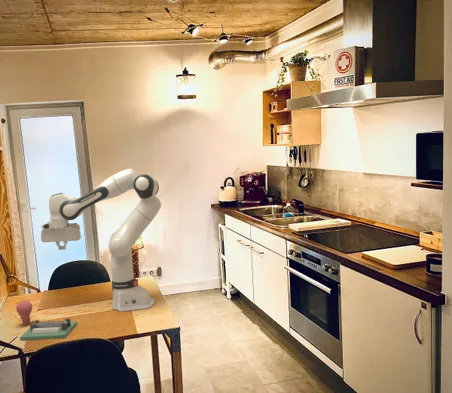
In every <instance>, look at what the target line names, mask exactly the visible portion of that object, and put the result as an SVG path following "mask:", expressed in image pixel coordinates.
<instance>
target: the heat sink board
mask: <svg viewBox="0 0 452 393" xmlns="http://www.w3.org/2000/svg"><path fill="white" fill-rule="evenodd" d="M66 320H68V321H69V323H68V324H67V322H62V323H61V324H62V325H59V326H41V327H35V324H32V323H31V324H30V326H31V327H30V328H28V329H27V331H25V332H24V333H23V334H22V335H21V336H19V340H21V341H38V340H40V341H41V340H55V339H56V340H58V339H66V337H67V336H68V335H69V334H70V333H71V332H72V331H73V330H74V328H75V327H76V326H77V325H78V321H77V320H74V321H71V318H69V317H68V318H64V321H66ZM34 322H40V320H39V319H35V320H34Z"/></svg>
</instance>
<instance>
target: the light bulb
mask: <svg viewBox="0 0 452 393" xmlns="http://www.w3.org/2000/svg"><path fill="white" fill-rule="evenodd" d="M15 309H16V312H17V314H18V315H19V317H20V319H21V321H22V324H23V325H26V326H27V325H29V324H30V323H31V316H30V315H31V313H32V310H33V304H32V303H31V301H29V300H25V299H23V300H21V301H19V302H18V303H17V305H16V308H15Z"/></svg>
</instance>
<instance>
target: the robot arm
mask: <svg viewBox="0 0 452 393" xmlns="http://www.w3.org/2000/svg"><path fill="white" fill-rule="evenodd" d="M138 174H139V173H137V172H136V171H135V169H133V168H126V169H123V170H121V171H119V172H116V173H114V174H112V175H110V176H109V177H107V178H106V179H104V181H102V182H101V183H100V184H99V185H98V186H96V188H94V189H93V190H92V191H90V192H88V193H86V194H84V195H83V196H80V197H72V196H69V195H67V194H66V193H65V192H64V193H63V192H59V193H55V194H51V196H49V200H48V207H49V208H48V210H49V212H50V213H49V214H50V218H49V219H50V221H48V222H47V223H43V224H42V225H41V232H40V239H41V242H42V243H54V242H55V245H56V246H57V248H58V251H60V250H61V251H62V250H63V251H65V250H66V249H67V245H68V242H75V241H76V242H77V241H80V240H81V238H82V234H81V231H80V229H81V226H80V224H78V223H77V222H71V223H70V222H69V221H73V220H75V219H77V218H78V217H80V216H81V215H83V214H84V213H85V212H86V209H88V208H90V207H92V206H93V205H96V204H97V203H99V202H102V201H105V200H110V199H113V198H116V197H119V196H120V195H123V194H125V193H126V192H129V191H131V190H135V192H136V194H137V195H138V197H139V199H140V201H139V202H138V204H137V205H136V206H135V207H134V208H133V210H132V211H131V212H130V213H129V215H128V216H127V217H126V219H125V220H124V221H123V222H122V224H121V225H120V226H119V228H118V229H117V230H116V231H115V232H113V233H112V234H111V236H110V237H109V242H108V250H109V251H110V268H111V277H112V278H111V289H112V303H111V308H112V309H113V310H117V311H118V312H129V311H137V310H138V311H139V310H146V309H150V308H152V307H154V305H155V303H156V301H155V298H153V297H151V295H150V292H149V290H148V289H146V288H145V287H143V286H141V285H140V284H139V278H135V274H134V264H133V250H132V248H133V246H134V245H135V244H136V243H137V241H138V240H139V238H140V237H141V235H142V234H143V232H144V231H145V230H146V229H147V228H148V227H149V226H150V224H151V222H153V220H154V219H155V217H156V216H157V215H158V212H160V209H161V208H162V202H161V201H160V199H159V198H158V197H157V196H156V195H157V194H158V193H159V190H160V186H159V182H158V181H157V180H156V179H155V178H154V177H153V176H151V175H149V174H143V173H142V174H139V175H138ZM60 242H63V245H61V244H60Z"/></svg>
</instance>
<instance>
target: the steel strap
mask: <svg viewBox="0 0 452 393" xmlns="http://www.w3.org/2000/svg"><path fill="white" fill-rule="evenodd" d="M62 322H67V324H68V323H69V321H68V320H66V321H65V320H55V321H39V322H35V321H34V322H32V323H31V324H35V327H41V326H59V325H62V324H61V323H62ZM30 328H31V326H30Z"/></svg>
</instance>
